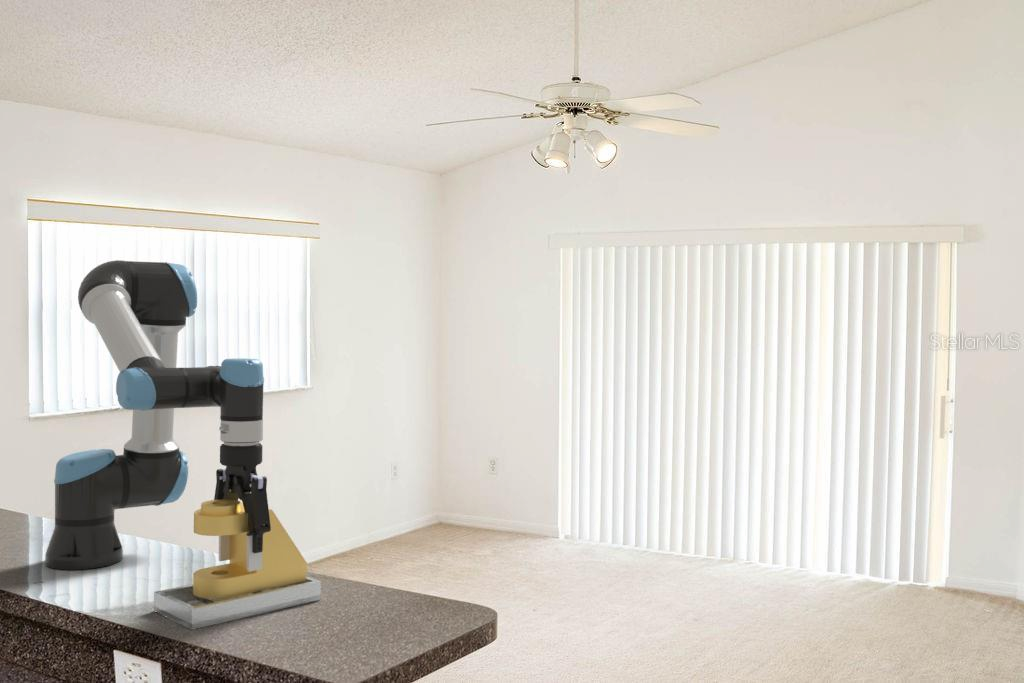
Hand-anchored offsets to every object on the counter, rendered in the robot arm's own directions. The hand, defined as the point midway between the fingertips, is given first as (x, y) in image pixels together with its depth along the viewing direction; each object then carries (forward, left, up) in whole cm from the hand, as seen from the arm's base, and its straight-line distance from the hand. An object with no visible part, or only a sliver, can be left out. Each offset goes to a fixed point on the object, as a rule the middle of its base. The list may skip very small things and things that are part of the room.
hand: (239, 564), depth 176 cm
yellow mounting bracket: (0, +1, -4) cm, 5 cm away
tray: (0, 0, -8) cm, 8 cm away
